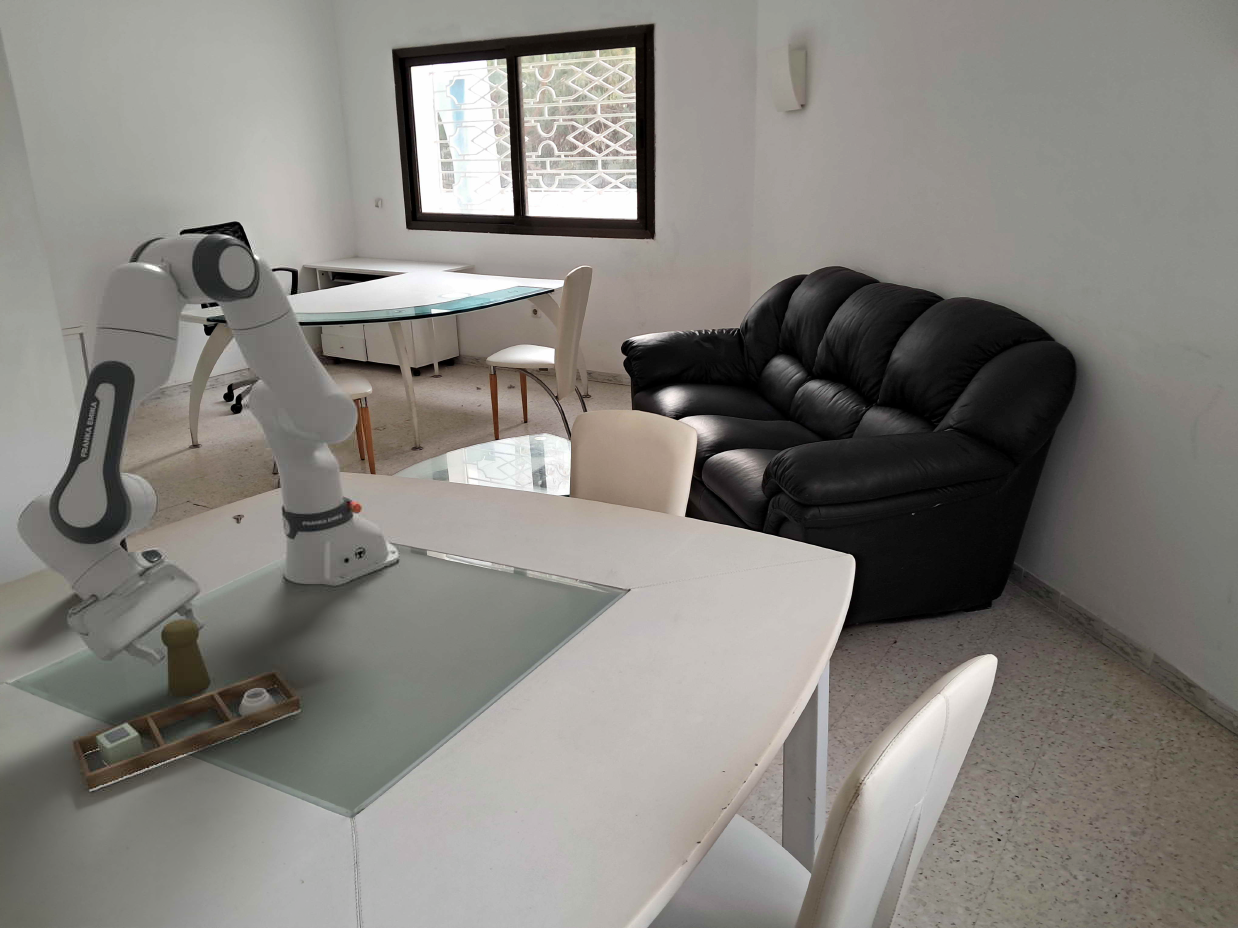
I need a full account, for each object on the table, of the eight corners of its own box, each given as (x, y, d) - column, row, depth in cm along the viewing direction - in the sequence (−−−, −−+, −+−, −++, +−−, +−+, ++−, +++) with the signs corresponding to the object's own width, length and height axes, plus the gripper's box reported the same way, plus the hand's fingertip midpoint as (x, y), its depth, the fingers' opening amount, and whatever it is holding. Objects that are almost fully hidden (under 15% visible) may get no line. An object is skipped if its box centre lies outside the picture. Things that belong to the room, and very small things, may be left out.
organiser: (278, 683, 138) (276, 669, 137) (301, 711, 131) (299, 697, 130) (75, 755, 121) (72, 740, 120) (89, 792, 114) (85, 776, 113)
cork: (194, 698, 134) (182, 635, 130) (159, 694, 135) (147, 631, 131) (218, 677, 139) (208, 616, 136) (185, 672, 140) (174, 612, 137)
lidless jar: (282, 708, 132) (264, 696, 135) (279, 692, 131) (261, 680, 134) (250, 724, 128) (233, 711, 131) (248, 707, 127) (230, 694, 130)
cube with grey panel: (131, 746, 123) (126, 721, 122) (144, 758, 121) (138, 733, 119) (101, 760, 120) (95, 735, 119) (113, 773, 118) (107, 747, 116)
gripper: (70, 602, 122) (144, 670, 124) (167, 543, 141) (230, 602, 143) (49, 627, 124) (122, 693, 126) (147, 565, 143) (209, 624, 145)
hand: (180, 644), depth 135 cm, fingers open, 8 cm apart
